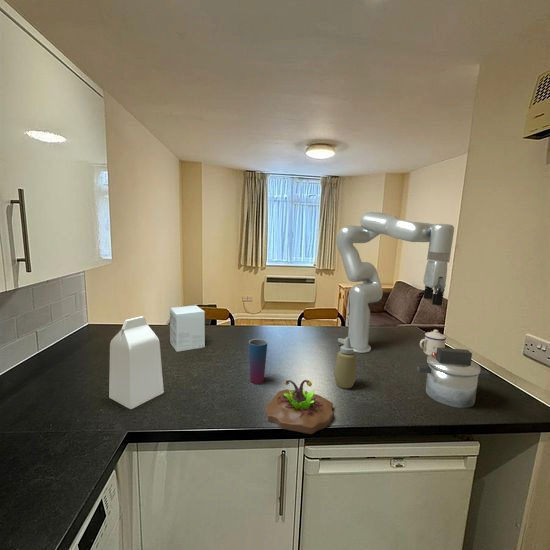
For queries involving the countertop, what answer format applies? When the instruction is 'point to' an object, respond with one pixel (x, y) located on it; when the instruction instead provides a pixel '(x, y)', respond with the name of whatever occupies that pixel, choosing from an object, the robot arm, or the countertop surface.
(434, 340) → the teacup with lid
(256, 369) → the cup
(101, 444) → the countertop surface
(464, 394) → the pot
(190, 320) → the supplement box
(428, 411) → the countertop surface
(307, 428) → the plant
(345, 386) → the squeeze bottle
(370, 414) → the countertop surface
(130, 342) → the milk
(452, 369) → the lid
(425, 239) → the robot arm
